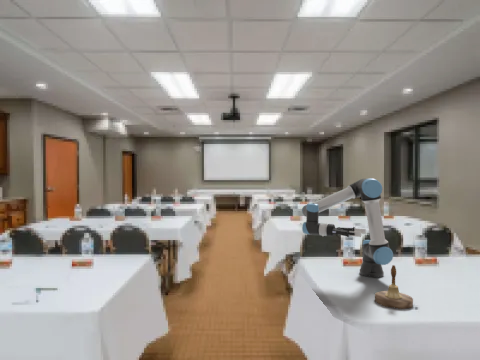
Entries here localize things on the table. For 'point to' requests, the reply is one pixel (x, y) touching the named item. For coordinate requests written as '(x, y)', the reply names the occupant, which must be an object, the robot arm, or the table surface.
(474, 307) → the table surface
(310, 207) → the robot arm
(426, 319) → the table surface
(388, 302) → the walnut stand
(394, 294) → the hand bell
